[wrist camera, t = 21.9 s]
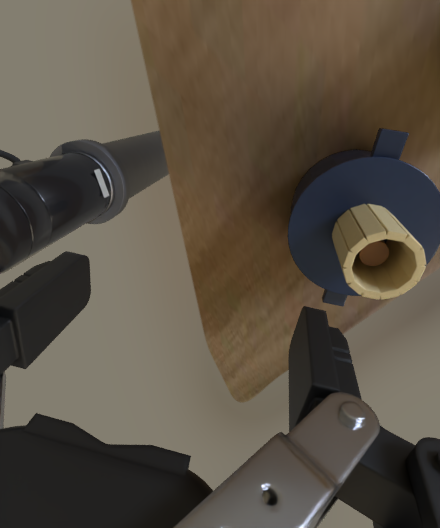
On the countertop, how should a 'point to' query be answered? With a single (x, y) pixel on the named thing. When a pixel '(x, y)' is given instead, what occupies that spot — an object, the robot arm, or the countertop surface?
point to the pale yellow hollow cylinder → (396, 265)
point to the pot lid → (354, 194)
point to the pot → (384, 146)
